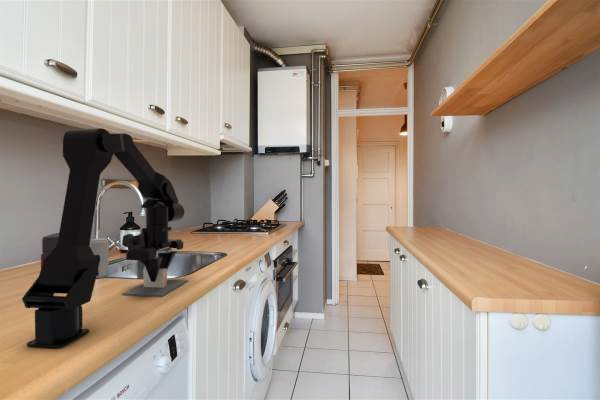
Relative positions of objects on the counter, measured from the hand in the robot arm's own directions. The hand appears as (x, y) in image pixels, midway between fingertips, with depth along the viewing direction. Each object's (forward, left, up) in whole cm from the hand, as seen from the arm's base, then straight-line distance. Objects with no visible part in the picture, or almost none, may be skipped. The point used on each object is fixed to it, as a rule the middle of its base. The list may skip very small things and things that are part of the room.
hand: (157, 279), depth 86 cm
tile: (0, +1, -2) cm, 2 cm away
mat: (0, 0, -2) cm, 2 cm away
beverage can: (+9, +25, -2) cm, 27 cm away
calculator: (-3, +28, -3) cm, 28 cm away
